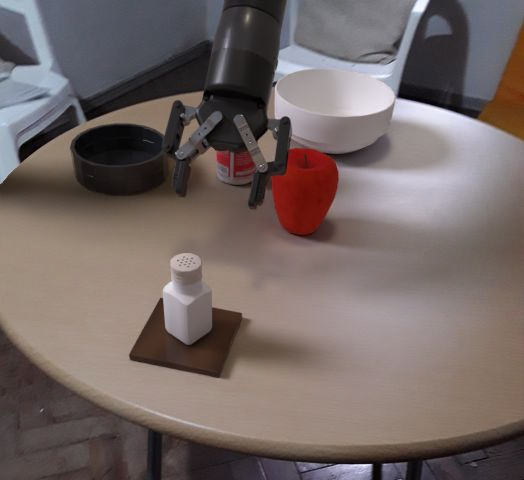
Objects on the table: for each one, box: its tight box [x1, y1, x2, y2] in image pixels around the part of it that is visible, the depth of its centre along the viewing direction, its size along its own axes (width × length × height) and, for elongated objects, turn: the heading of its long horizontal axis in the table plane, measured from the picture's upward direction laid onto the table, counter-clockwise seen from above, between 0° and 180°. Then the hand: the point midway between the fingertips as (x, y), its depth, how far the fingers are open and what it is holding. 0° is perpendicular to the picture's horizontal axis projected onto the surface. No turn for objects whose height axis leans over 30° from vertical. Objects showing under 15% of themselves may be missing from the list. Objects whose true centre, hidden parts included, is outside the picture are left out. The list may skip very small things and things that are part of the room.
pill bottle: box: [215, 140, 259, 186], centre depth 93 cm, size 6×6×11 cm
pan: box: [69, 122, 170, 196], centre depth 95 cm, size 14×14×4 cm
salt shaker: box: [162, 252, 213, 345], centre depth 67 cm, size 4×4×10 cm
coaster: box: [128, 297, 243, 378], centre depth 70 cm, size 10×10×1 cm
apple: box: [271, 147, 340, 236], centre depth 84 cm, size 9×9×11 cm
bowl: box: [274, 67, 397, 155], centre depth 105 cm, size 20×20×8 cm
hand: (215, 201), depth 71 cm, fingers open, 8 cm apart
